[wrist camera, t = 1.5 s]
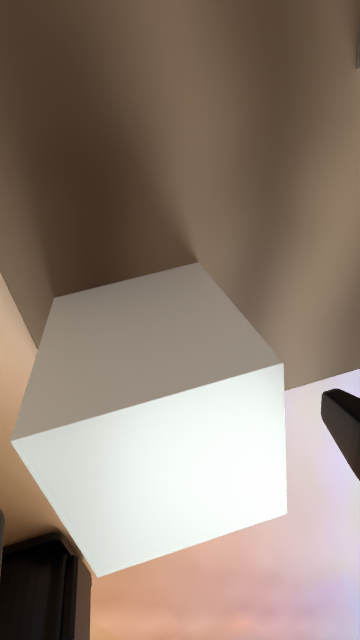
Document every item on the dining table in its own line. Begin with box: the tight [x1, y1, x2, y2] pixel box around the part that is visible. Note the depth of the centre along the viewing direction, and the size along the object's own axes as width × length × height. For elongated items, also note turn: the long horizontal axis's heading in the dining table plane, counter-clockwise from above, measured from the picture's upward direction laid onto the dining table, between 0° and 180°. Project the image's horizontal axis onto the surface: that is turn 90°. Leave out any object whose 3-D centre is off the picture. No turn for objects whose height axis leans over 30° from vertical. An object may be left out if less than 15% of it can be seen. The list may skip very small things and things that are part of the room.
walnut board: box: [0, 0, 360, 391], centre depth 12 cm, size 18×20×1 cm
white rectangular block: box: [10, 262, 287, 577], centre depth 10 cm, size 5×5×7 cm
